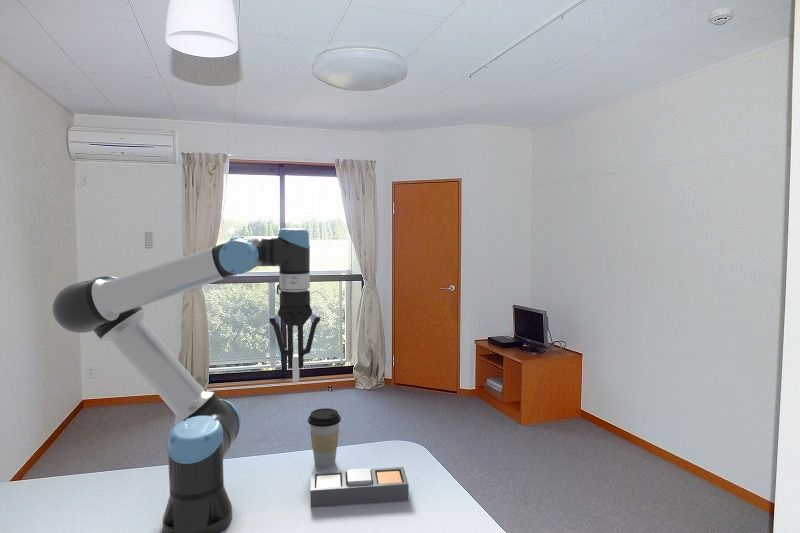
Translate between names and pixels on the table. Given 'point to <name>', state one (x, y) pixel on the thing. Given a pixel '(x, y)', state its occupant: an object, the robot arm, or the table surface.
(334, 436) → the coffee cup
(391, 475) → the key orange
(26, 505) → the table surface
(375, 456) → the table surface
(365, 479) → the key grey
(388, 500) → the keypad
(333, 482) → the key cream
